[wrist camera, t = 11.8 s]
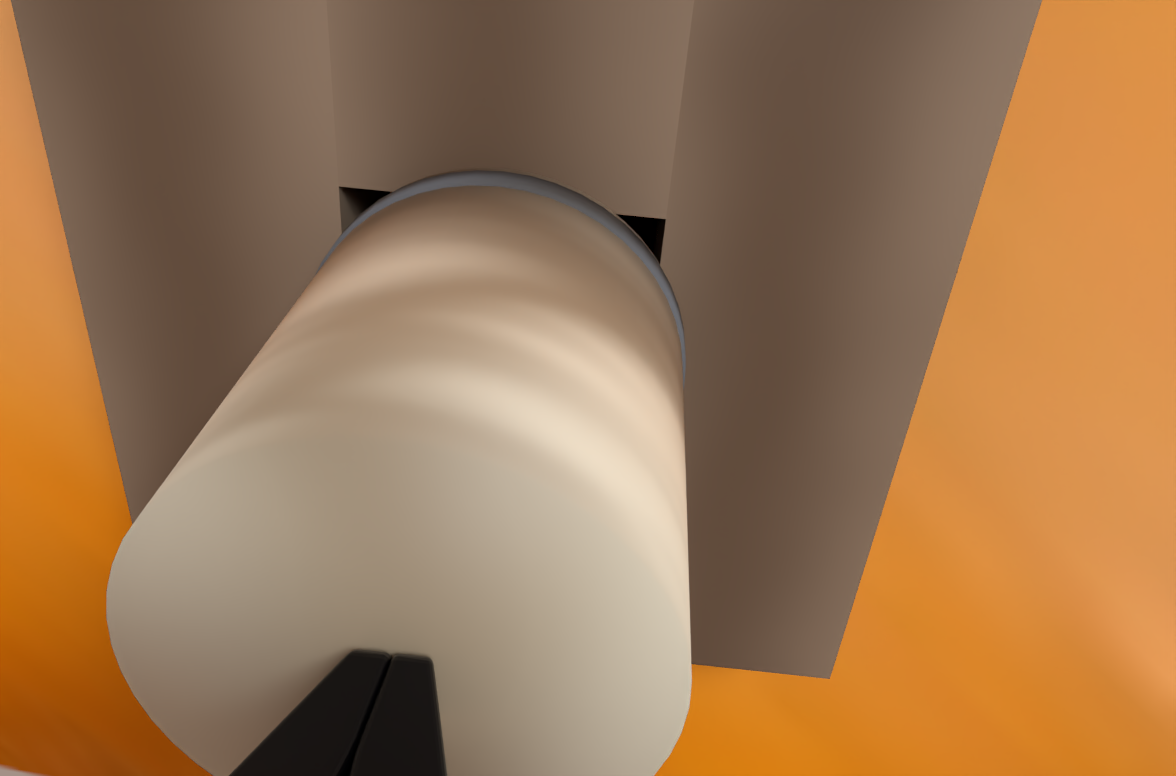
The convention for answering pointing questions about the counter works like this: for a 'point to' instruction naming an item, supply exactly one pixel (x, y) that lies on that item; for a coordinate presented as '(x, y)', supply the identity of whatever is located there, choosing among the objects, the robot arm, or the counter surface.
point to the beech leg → (438, 494)
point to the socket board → (580, 160)
